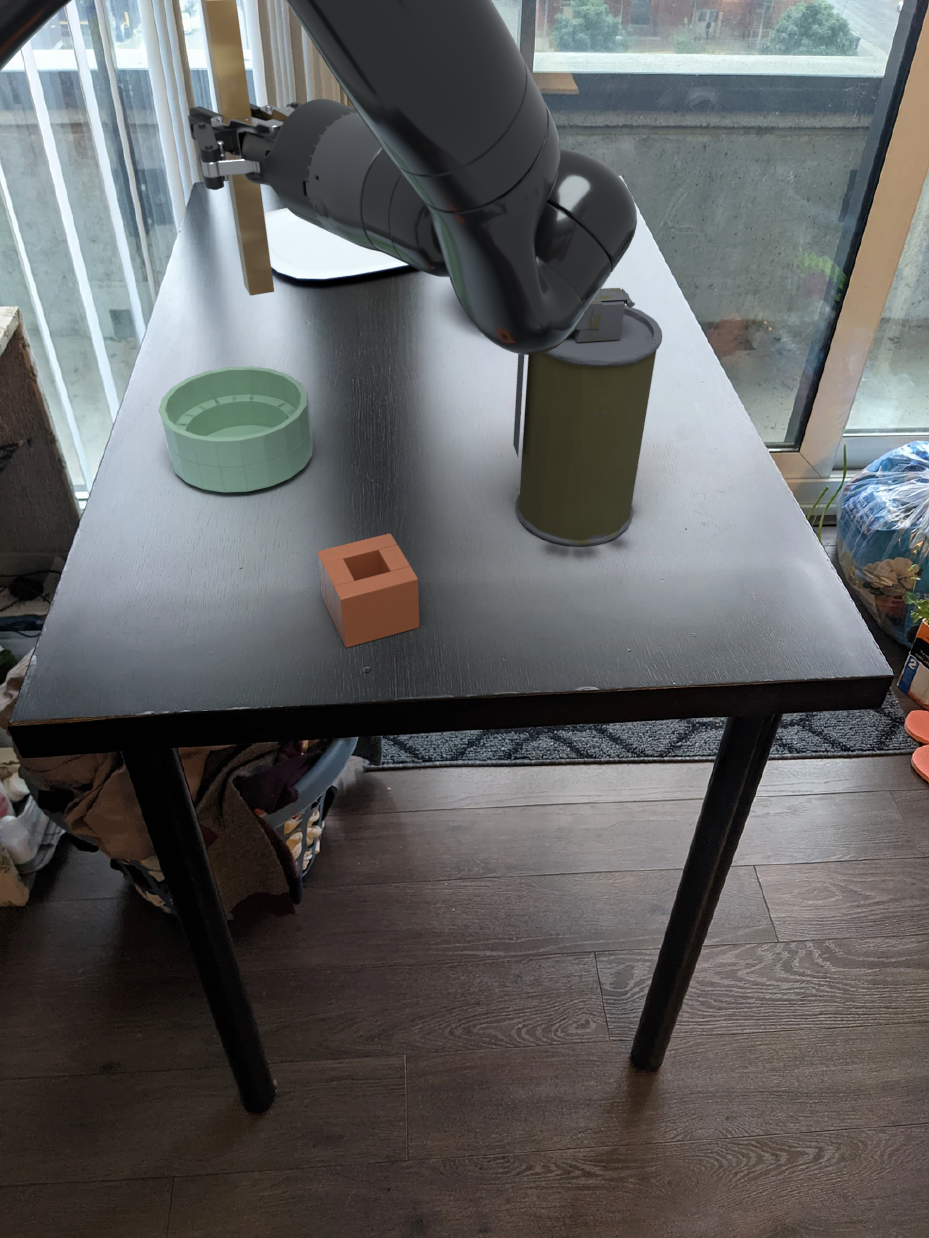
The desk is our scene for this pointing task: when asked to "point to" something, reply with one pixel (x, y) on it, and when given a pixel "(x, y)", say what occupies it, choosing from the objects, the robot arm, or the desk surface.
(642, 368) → the canister
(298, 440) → the mixing bowl
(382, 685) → the desk surface
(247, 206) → the stirring stick
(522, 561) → the desk surface
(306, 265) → the plate
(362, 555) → the orange square socket block
